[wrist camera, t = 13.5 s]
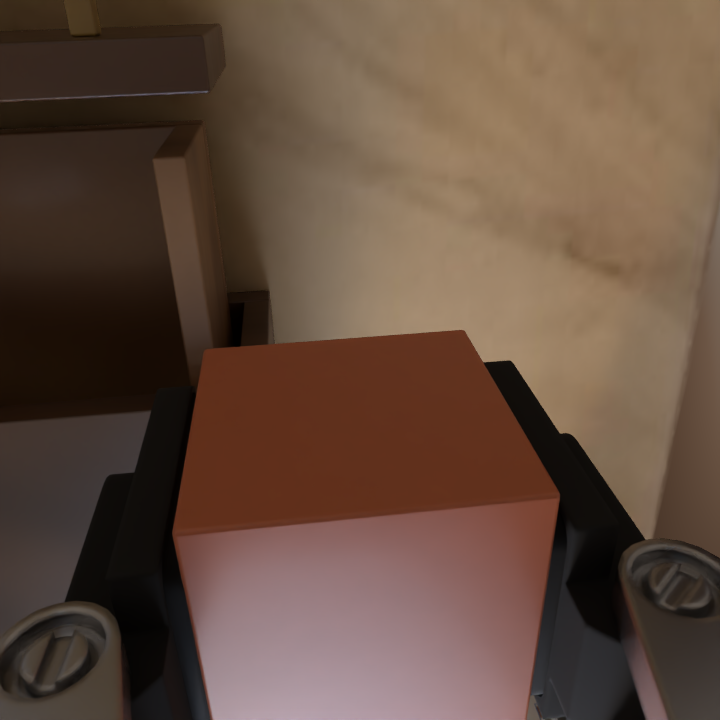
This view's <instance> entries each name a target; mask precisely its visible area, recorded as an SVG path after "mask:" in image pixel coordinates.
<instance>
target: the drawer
mask: <svg viewBox="0 0 720 720" xmlns="http://www.w3.org/2000/svg"><path fill="white" fill-rule="evenodd" d="M63 2H64V6H65V11H66V16H67V21H68V26H69V29H54V30H26V31H0V102H20V101H43V100H66V99H88V98H111V97H134V96H157V95H179V94H202V93H209V92H210V91H211V89H212V88H213V86H214V85H215V83H216V81H217V80H218V78H219V76H220V75H221V73H222V72H223V70H224V68H225V66H226V62H225V54H224V45H223V36H222V27H221V24H194V25H166V26H138V27H110V28H101V27H100V22H99V16H98V11H97V6H96V0H63ZM228 347H234V341H233V333H232V326H231V318H230V310H229V303H228V295H227V287H226V280H225V272H224V265H223V257H222V249H221V242H220V234H219V226H218V219H217V211H216V204H215V196H214V188H213V181H212V173H211V165H210V158H209V150H208V143H207V135H206V127H205V122H204V121H203V120H190V121H169V122H148V123H126V124H105V125H84V126H63V127H42V128H21V129H0V406H11V405H23V404H36V403H48V402H61V401H73V400H86V399H98V398H111V397H123V396H136V395H148V394H156V392H157V390H158V389H159V388H170V387H182V386H194V387H195V389H196V391H197V388H198V382H199V376H200V370H201V365H202V359H203V353H204V350H206V349H215V348H228Z"/></svg>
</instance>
